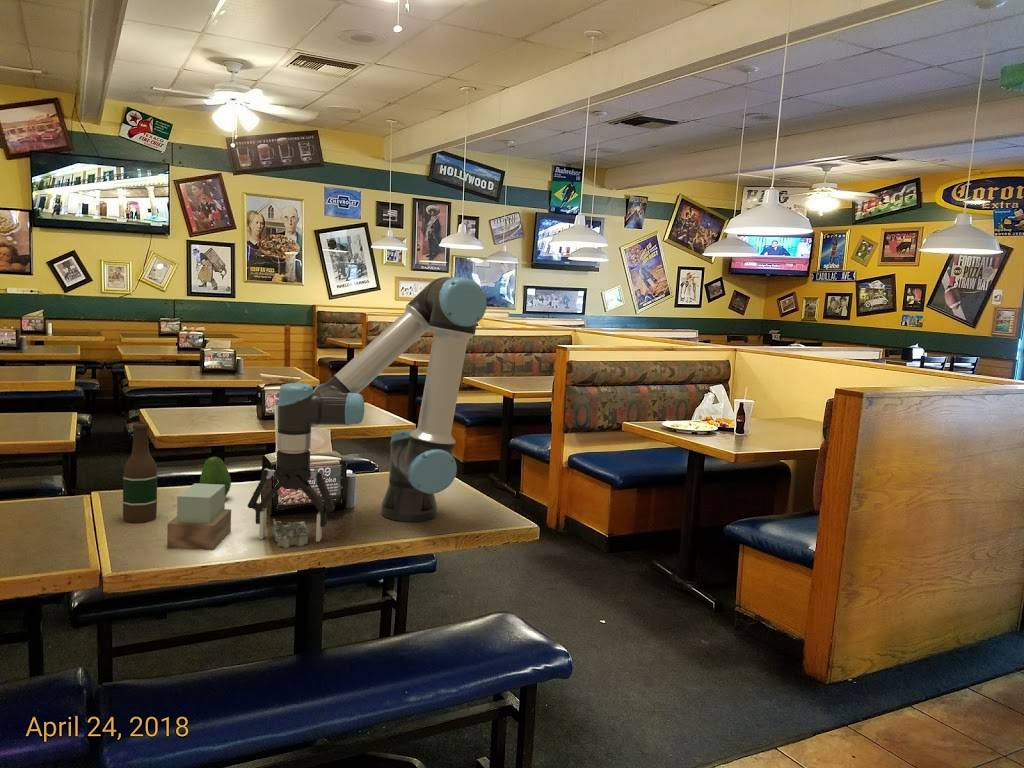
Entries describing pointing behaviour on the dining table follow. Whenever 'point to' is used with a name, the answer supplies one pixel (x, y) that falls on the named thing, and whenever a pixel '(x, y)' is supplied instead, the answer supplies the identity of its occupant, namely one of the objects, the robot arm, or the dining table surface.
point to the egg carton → (290, 533)
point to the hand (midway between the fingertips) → (290, 538)
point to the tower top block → (200, 503)
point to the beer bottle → (140, 479)
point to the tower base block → (199, 533)
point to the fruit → (215, 473)
